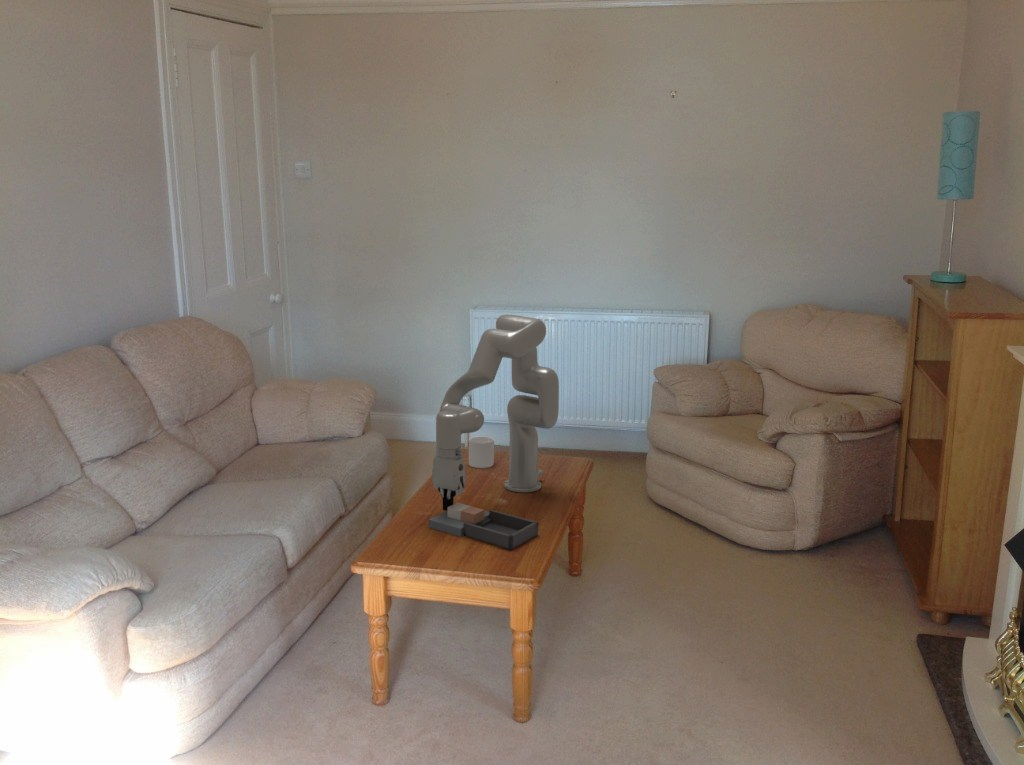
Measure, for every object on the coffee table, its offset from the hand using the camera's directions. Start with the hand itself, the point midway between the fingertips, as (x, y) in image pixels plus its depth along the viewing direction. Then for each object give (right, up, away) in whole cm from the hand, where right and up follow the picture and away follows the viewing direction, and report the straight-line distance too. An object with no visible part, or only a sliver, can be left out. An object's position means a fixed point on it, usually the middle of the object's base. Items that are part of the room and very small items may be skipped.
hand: (447, 509), depth 294 cm
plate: (+4, -4, -2) cm, 6 cm away
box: (+16, -6, -10) cm, 20 cm away
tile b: (+8, -2, -5) cm, 9 cm away
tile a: (+4, -2, -2) cm, 5 cm away
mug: (+8, +9, +56) cm, 58 cm away
